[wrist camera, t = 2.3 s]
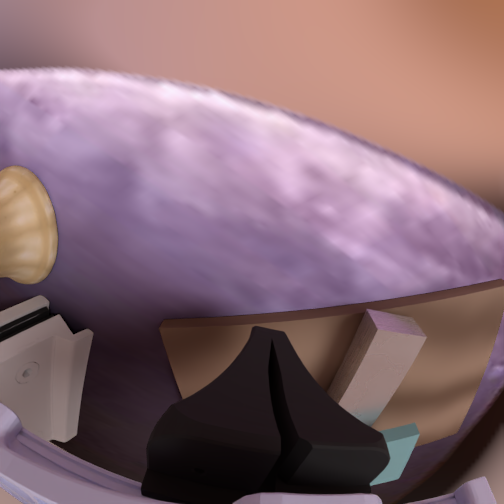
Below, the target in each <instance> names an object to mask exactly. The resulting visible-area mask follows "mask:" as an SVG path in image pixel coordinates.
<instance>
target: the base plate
mask: <svg viewBox="0 0 504 504" xmlns="http://www.w3.org/2000/svg"><path fill="white" fill-rule="evenodd" d="M366 309H371V310H376V311H381V312H386V313H391V314H396V315H401V316H406V317H411V318H413V319H414V320H415V322H416V323H417V324H418V326H419V327H420V328H421V330H422V331H423V332H424V334H425V335H426V336H427V338H426V340H425V342H424V344H423V346H422V348H421V349H420V351H419V353H418V355H417V357H416V358H415V360H414V362H413V364H412V365H411V367H410V369H409V370H408V372H407V374H406V375H405V377H404V379H403V380H402V382H401V383H400V385H399V387H398V388H397V390H396V391H395V393H394V394H393V396H392V397H391V399H390V400H389V402H388V403H387V405H386V406H385V408H384V409H383V411H382V412H381V413H380V415H379V416H378V418H377V419H376V420H375V422H374V423H373V425H372V426H371V427H372V428H373V429H375V430H377V431H382V430H387V429H391V428H395V427H400V426H404V425H407V424H411V423H416V426H417V428H418V431H419V433H420V435H419V437H418V439H417V442H416V444H415V446H414V447H416V446H420V445H423V444H426V443H429V442H433V441H436V440H439V439H442V438H444V437H447V436H450V435H453V434H456V433H457V432H458V430H459V428H460V426H461V424H462V422H463V420H464V418H465V416H466V414H467V412H468V410H469V408H470V405H471V403H472V401H473V399H474V396H475V394H476V392H477V389H478V387H479V385H480V382H481V380H482V377H483V375H484V372H485V369H486V367H487V364H488V361H489V358H490V355H491V352H492V349H493V346H494V343H495V340H496V337H497V333H498V330H499V327H500V323H501V319H502V315H503V312H504V280H502V279H498V280H494V281H489V282H484V283H480V284H475V285H470V286H465V287H460V288H454V289H449V290H443V291H438V292H432V293H426V294H420V295H414V296H408V297H402V298H395V299H389V300H382V301H375V302H368V303H360V304H352V305H344V306H336V307H328V308H319V309H309V310H300V311H289V312H278V313H267V314H254V315H241V316H226V317H209V318H188V319H164V321H163V322H162V324H161V326H160V327H159V330H160V334H161V337H162V340H163V343H164V347H165V350H166V353H167V356H168V359H169V362H170V365H171V368H172V371H173V374H174V376H175V379H176V382H177V385H178V388H179V390H180V393H181V396H182V398H183V399H185V398H187V397H189V396H191V395H193V394H194V393H196V392H197V391H199V390H201V389H202V388H204V387H205V386H207V385H208V384H209V383H211V382H212V381H213V380H214V379H216V378H217V377H218V376H219V375H220V374H221V373H222V372H224V371H225V370H226V369H227V368H228V367H229V365H230V364H231V363H232V362H233V361H234V360H235V358H236V357H237V356H238V355H239V353H240V352H241V351H242V349H243V348H244V346H245V344H246V343H247V341H248V339H249V337H250V333H251V330H252V327H254V326H260V327H265V328H269V329H274V330H279V331H284V332H285V333H286V335H287V337H288V339H289V340H290V342H291V344H292V346H293V348H294V349H295V351H296V353H297V355H298V356H299V358H300V360H301V361H302V363H303V364H304V366H305V367H306V369H307V370H308V371H309V373H310V374H311V375H312V377H313V378H314V379H315V381H316V382H317V383H318V384H319V385H320V386H321V387H322V389H323V390H324V391H325V392H326V393H327V391H328V389H329V387H330V385H331V383H332V381H333V379H334V378H335V376H336V374H337V372H338V370H339V368H340V366H341V364H342V362H343V360H344V357H345V355H346V353H347V351H348V349H349V347H350V345H351V343H352V341H353V338H354V336H355V334H356V332H357V330H358V327H359V325H360V323H361V321H362V318H363V316H364V314H365V311H366Z"/></svg>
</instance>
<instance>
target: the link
mask: <svg viewBox="0 0 504 504" xmlns="http://www.w3.org/2000/svg"><path fill="white" fill-rule="evenodd" d="M426 338H427V336H426V335H425V334H424V332H423V331H422V330H421V328H420V327H419V326H418V324H417V323H416V322H415V320H414V319H413V318H411V317H406V316H401V315H396V314H391V313H386V312H381V311H376V310H371V309H366V311H365V314H364V316H363V318H362V321H361V323H360V325H359V327H358V330H357V332H356V334H355V336H354V338H353V341H352V343H351V345H350V347H349V349H348V351H347V353H346V355H345V357H344V360H343V362H342V364H341V366H340V368H339V370H338V372H337V374H336V376H335V378H334V379H333V381H332V383H331V385H330V387H329V389H328V391H327V394H328V395H329V396H330V397H331V398H332V399H333V400H334V401H336V402H337V403H338V404H339V405H340V406H341V407H342V408H344V409H345V410H346V411H347V412H349V413H350V414H351V415H353V416H354V417H356V418H357V419H359V420H360V421H361V422H363V423H365V424H366V425H368V426H370V427H371V426H372V425H373V423H374V422H375V420H376V419H377V418H378V416H379V415H380V413H381V412H382V411H383V409H384V408H385V406H386V405H387V403H388V402H389V400H390V399H391V397H392V396H393V394H394V393H395V391H396V390H397V388H398V387H399V385H400V383H401V382H402V380H403V379H404V377H405V375H406V374H407V372H408V370H409V369H410V367H411V365H412V364H413V362H414V360H415V358H416V357H417V355H418V353H419V351H420V349H421V348H422V346H423V344H424V342H425V340H426Z"/></svg>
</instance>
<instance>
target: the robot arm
mask: <svg viewBox="0 0 504 504" xmlns="http://www.w3.org/2000/svg"><path fill="white" fill-rule="evenodd" d="M146 449H147V467H148V468H147V471H146V474H145V477H144V480H143V482H142V483H139V482H136V481H133V480H131V479H128V478H125V477H122V476H120V475H117V474H114V473H112V472H109V471H107V470H105V469H102V468H100V467H97V466H95V465H93V464H91V463H88V462H86V461H84V460H82V459H80V458H78V457H76V456H73V455H71V454H69V453H67V452H65V451H64V450H62V449H60V448H58V447H56V446H54V445H52V444H50V443H49V442H47V441H45V440H43V439H42V438H40V437H38V436H36V435H35V434H33V433H31V432H30V431H28V430H27V429H25V428H23V427H22V424H21V421H20V419H19V417H18V416H17V415H16V414H15V412H14V411H12V410H11V409H10V408H9V407H7V406H6V405H4V404H3V403H1V402H0V487H1V488H2V489H4V490H5V491H6V492H8V493H9V494H11V495H12V496H13V497H15V498H16V499H17V500H19V501H20V502H22V503H23V504H382V502H381V499H380V498H379V497H378V496H377V495H374V494H370V493H371V487H370V483H371V482H372V481H373V480H374V479H375V478H376V477H377V476H378V475H379V474H380V473H381V472H382V471H383V470H384V469H385V468H386V467H387V465H388V464H389V461H390V454H389V450H388V447H387V443H386V441H385V438H384V435H383V434H382V433H381V432H379V431H377V430H375V429H373V428H372V427H370V426H368V425H366V424H365V423H363V422H361V421H360V420H359V419H357V418H356V417H354V416H353V415H351V414H350V413H349V412H347V411H346V410H345V409H344V408H342V407H341V406H340V405H339V404H338V403H337V402H336V401H334V400H333V399H332V398H331V397H330V396H329V395H328V394H327V393H326V392H325V391H324V390H323V389H322V387H321V386H320V385H319V384H318V383H317V382H316V381H315V379H314V378H313V377H312V375H311V374H310V373H309V371H308V370H307V369H306V367H305V366H304V364H303V363H302V361H301V360H300V358H299V356H298V355H297V353H296V351H295V349H294V348H293V346H292V344H291V342H290V340H289V339H288V337H287V335H286V333H285V332H284V331H279V330H274V329H269V328H265V327H260V326H254V327H252V330H251V333H250V337H249V339H248V341H247V343H246V344H245V346H244V348H243V349H242V351H241V352H240V353H239V355H238V356H237V357H236V358H235V360H234V361H233V362H232V363H231V364H230V365H229V367H228V368H227V369H226V370H225V371H224V372H222V373H221V374H220V375H219V376H218V377H217V378H216V379H214V380H213V381H212V382H211V383H209V384H208V385H207V386H205V387H204V388H202V389H201V390H199V391H197V392H196V393H194V394H193V395H191V396H189V397H187V398H185V399H183V400H181V401H179V402H176V403H174V404H172V405H171V406H170V407H169V408H168V409H167V411H166V412H165V413H164V414H163V416H162V417H161V418H160V419H159V421H158V422H157V424H156V426H155V427H154V429H153V431H152V433H151V436H150V438H149V441H148V444H147V448H146ZM407 504H497V503H496V500H495V498H494V496H493V493H492V491H491V489H490V486H489V484H488V482H487V479H486V477H481V478H477V479H474V480H471V481H468V482H466V483H465V484H463V485H462V486H460V487H459V488H458V489H457V490H456V491H455V492H454V493H451V494H447V495H443V496H440V497H436V498H432V499H427V500H422V501H417V502H412V503H407Z"/></svg>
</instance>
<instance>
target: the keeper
mask: <svg viewBox="0 0 504 504" xmlns="http://www.w3.org/2000/svg"><path fill="white" fill-rule="evenodd" d="M379 432H381V433H382V434H383V435H384V438H385V441H386V443H387V447H388V450H389V454H390V461H389V464H388V465H387V467H386V468H385V469H384V470H383V471H382V472H381V473H380V474H379V475H378V476H377V477H376V478H375V479H374V480H373V481H372V482H371V483H370V485H375V484H379V483H384V482H388V481H392V480H396V479H399V477H400V475H401V473H402V471H403V469H404V467H405V465H406V463H407V461H408V459H409V457H410V455H411V453H412V451H413V448H414V446H415V444H416V442H417V439H418V437H419V435H420V433H419V431H418V428H417V426H416V423H411V424H407V425H404V426H400V427H395V428H391V429H387V430H382V431H379Z"/></svg>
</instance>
